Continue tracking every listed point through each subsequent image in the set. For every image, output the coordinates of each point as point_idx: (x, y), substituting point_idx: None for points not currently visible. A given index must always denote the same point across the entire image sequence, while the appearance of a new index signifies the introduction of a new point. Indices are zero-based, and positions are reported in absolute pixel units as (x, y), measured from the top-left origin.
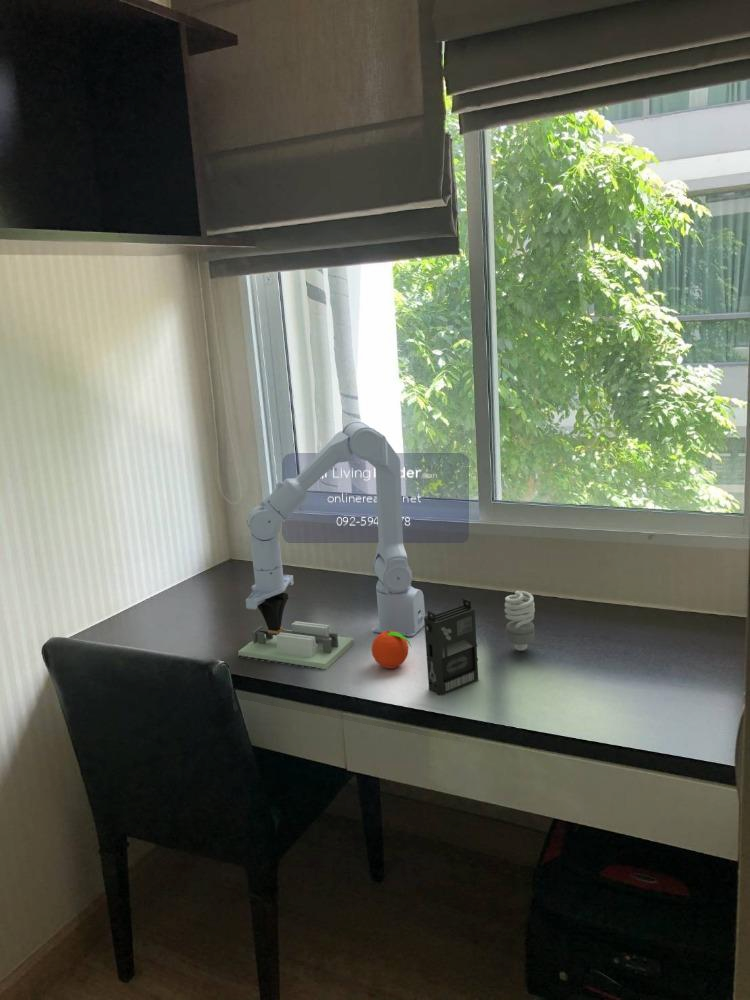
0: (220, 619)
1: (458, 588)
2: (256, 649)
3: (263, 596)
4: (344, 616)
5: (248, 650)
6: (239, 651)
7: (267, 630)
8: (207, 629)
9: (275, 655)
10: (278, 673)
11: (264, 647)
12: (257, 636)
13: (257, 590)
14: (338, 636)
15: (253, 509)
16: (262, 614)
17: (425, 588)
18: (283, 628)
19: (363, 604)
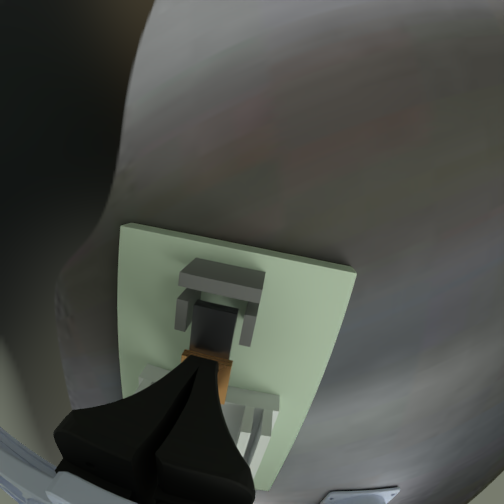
0: (438, 28)
1: (476, 493)
2: (145, 291)
3: (13, 496)
4: (439, 424)
5: (132, 264)
6: (120, 232)
7: (201, 342)
8: (353, 3)
9: (126, 363)
10: (86, 369)
11: (167, 315)
12: (182, 292)
13: (28, 500)
14: (278, 472)
15: None
16: (140, 392)
17: (499, 465)
18: (224, 400)
19: (487, 424)
